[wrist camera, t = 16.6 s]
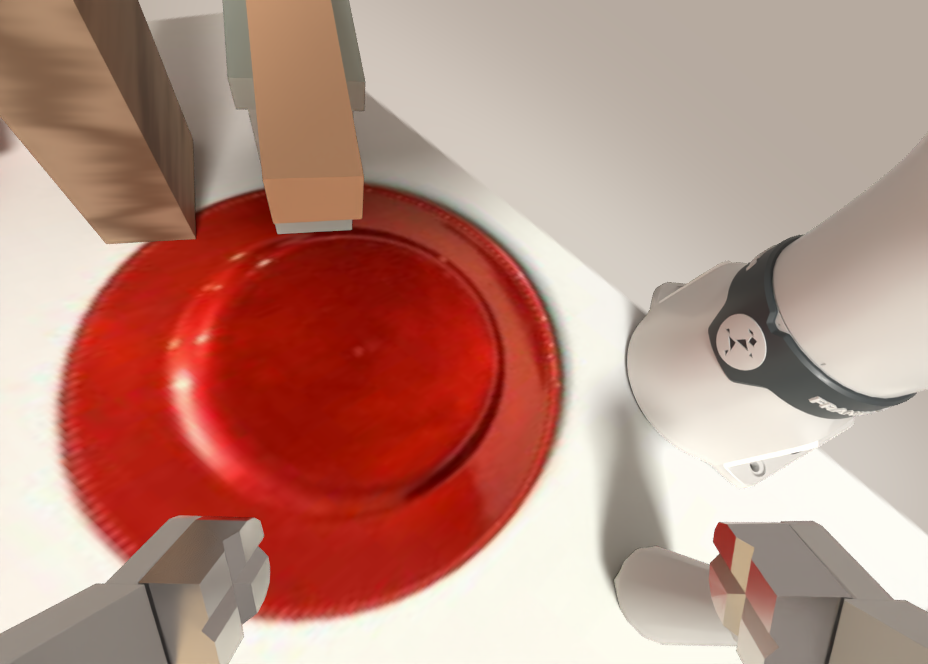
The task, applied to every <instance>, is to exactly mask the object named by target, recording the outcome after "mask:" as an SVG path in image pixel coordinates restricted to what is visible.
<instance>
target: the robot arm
mask: <svg viewBox="0 0 928 664" xmlns="http://www.w3.org/2000/svg"><path fill="white" fill-rule="evenodd" d="M627 369H628V376H629V381H630V385H631V388H632V391H633V394H634V396H635V399H636V401H637V403H638V405H639V407H640V409H641V410H642V412H643V414H644V415H645V417H646V418H647V420H648V421H649V422H650V423H651V425H652V426H653V427H654V428H655V429H656V431H657V432H658V433H659V434H660V435H661V436H662V437H664V438H665V439H666V440H667V441H668V442H669V443H671V444H672V445H673V446H675V447H676V448H678V449H679V450H681V451H683V452H684V453H686V454H688V455H690V456H693V457H695V458H697V459H700V460H702V461H704V462H706V463H708V464H709V465H711V466H712V467H713V468H714V469H715V470H716V471H717V472H718V473H719V474H720V475H721V476H722V477H724V478H725V479H726V480H727V481H728V482H729V483H731V484H732V485H733V486H735V487H737V488H740V489H745V488H748V487H752V486H755V485H756V484H758V483H760V482H761V481H763V480H765V479H766V478H768V477H770V476H771V475H773V474H775V473H776V472H778V471H780V470H781V469H783V468H785V467H786V466H788V465H789V464H791V463H793V462H794V461H796V460H798V459H799V458H801V457H803V456H804V455H806V454H808V453H809V452H811V451H813V450H814V449H816V448H818V447H819V446H821V445H822V444H824V443H826V442H827V441H829V440H831V439H832V438H834V437H836V436H837V435H839V434H841V433H842V432H844V431H846V430H847V429H849V428H850V427H851V426H852V425H853V423H854V417H855V416H862V415H868V414H872V413H876V412H879V411H883V410H886V409H888V408H890V407H891V406H894V405H898V404H900V403H903V402H905V401H907V400H909V399H910V398H912V397H913V396H914V395H915V394H916V393H917V392H919V391H923V390H927V389H928V132H927V133H926V135H925V136H924V137H923V138H922V139H921V141H920V142H919V143H918V144H917V145H916V146H915V147H914V149H913V150H912V151H911V152H910V153H909V154H908V155H907V156H906V157H905V158H904V159H903V160H902V161H901V162H899V163H898V164H897V165H896V166H895V167H894V168H893V169H892V170H890V171H889V172H888V173H887V174H886V175H884V176H883V177H882V178H880V179H879V180H878V181H877V182H875V183H874V184H873V185H872V186H870V187H869V188H868V189H867V190H865V191H864V192H863V193H862V194H860V195H859V196H858V197H856V198H855V199H854V200H852V201H851V202H850V203H848V204H847V205H846V206H844V207H843V208H842V209H840V210H839V211H837V212H836V213H835V214H833V215H832V216H830V217H829V218H828V219H826V220H825V221H823V222H822V223H821V224H819V225H818V226H816V227H815V228H813V229H812V230H810V231H809V232H807V233H806V234H804V235H798V236H794V237H791V238H788V239H786V240H784V241H782V242H781V243H779V244H777V245H774V246H772V247H770V248H768V249H767V250H765V251H764V252H762V253H760V254H759V255H757V256H756V257H755V258H754V259H753V260H752V261H751V262H750V263H748V264H747V263H740V262H736V263H732V262H730V261H725V262H722V263H720V264H718V265H716V266H715V267H713V268H712V269H710V270H708V271H707V272H705V273H703V274H702V275H700V276H699V277H697V278H695V279H694V280H692V281H691V282H689V283H687V284H681V283H671V282H667V283H664V284H662V285H660V286H659V287H657V288H656V289H655V291H654V293H653V297H652V301H651V306H650V310H649V312H648V314H647V315H646V316H645V318H644V319H643V320H642V321H641V322H640V323H639V325H638V326H637V327H636V329H635V331H634V333H633V335H632V337H631V340H630V343H629V347H628V354H627ZM750 464H751V465H752V468H753V470H752V469H751V467H750ZM263 537H264V534H263V530H262V526H261V522H260V521H259V520H257V519H256V518H252V517H222V516H203V517H202V516H176V517H173V518H171V519H169V520H168V521H167V522H166V523H165V524H164V525H163V526H162V527H161V528H160V529H159V530H158V531H157V532H156V533H155V534H154V535H153V536H152V537H151V538H150V539H149V540H148V541H147V542H146V543H145V544H144V545H143V546H142V547H141V548H140V549H139V550H138V551H137V552H136V553H135V554H134V555H133V556H132V557H131V558H130V559H129V560H128V561H127V562H126V563H125V564H124V565H123V566H122V567H121V568H120V569H119V570H118V571H117V572H116V573H115V574H114V575H113V576H112V577H111V578H110V579H109V580H108V581H107V582H106V583H105V584H94V585H92V586H90V587H89V588H87V589H85V590H83V591H81V592H79V593H77V594H75V595H73V596H71V597H69V598H67V599H66V600H64V601H62V602H60V603H58V604H56V605H54V606H52V607H50V608H48V609H46V610H45V611H43V612H41V613H39V614H37V615H35V616H33V617H31V618H29V619H27V620H25V621H24V622H22V623H20V624H18V625H16V626H14V627H12V628H10V629H8V630H6V631H4V632H3V633H1V634H0V664H229V662H230V660H231V659H232V657H233V655H234V653H235V651H236V650H237V648H238V646H239V644H240V643H241V641H242V639H243V637H244V634H243V628H242V624H243V623H245V622H246V621H247V620H249V619H250V618H251V617H253V616H254V615H255V614H257V613H258V611H259V609H260V607H261V605H262V603H263V601H264V599H265V597H266V593H267V589H268V586H269V582H270V564H269V559H268V556H267V555H266V554H265V553H264V552H263V551H262V550H261V549H260V548H259V547H258V545H259V544H260V542H261V540H262V539H263ZM713 543H714V544H715V546H716V548H717V549H718V551H719V553H720V554H719V555H718V556H717V557H716V558H715V559H714V560H713V561H712V562H711V563H710V570H709V586H710V593H711V598H712V601H713V604H714V607H715V610H716V612H717V614H718V616H719V618H720V620H721V622H722V624H723V626H725V627H726V628H727V629H729V630H730V631H731V632H732V633H734V634H735V635H736V636H738V642H737V649H736V651H737V653H738V655H739V657H740V659H741V661H742V663H743V664H928V612H927V611H925V610H923V609H921V608H919V607H917V606H915V605H913V604H912V603H910V602H908V601H906V600H894V599H893V598H892V597H891V596H890V595H889V594H888V593H887V592H886V591H885V590H884V589H883V588H882V587H881V586H880V585H879V584H878V583H877V582H876V581H875V580H874V579H873V578H872V577H871V576H870V575H869V573H868V572H867V571H866V570H865V569H864V568H863V567H862V566H861V565H860V564H859V563H858V562H857V561H856V560H855V559H854V558H853V557H852V556H851V555H850V554H849V553H848V552H847V551H846V550H845V549H844V548H843V547H842V546H841V545H840V544H839V543H838V542H837V541H836V540H835V539H834V538H833V537H832V536H831V534H830V533H829V532H828V531H827V530H826V529H825V528H824V527H823V526H821V525H820V524H818V523H816V522H814V521H781V522H780V523H778V522H719V523H718V525H717V526H716V528H715V532H714V538H713Z"/></svg>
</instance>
